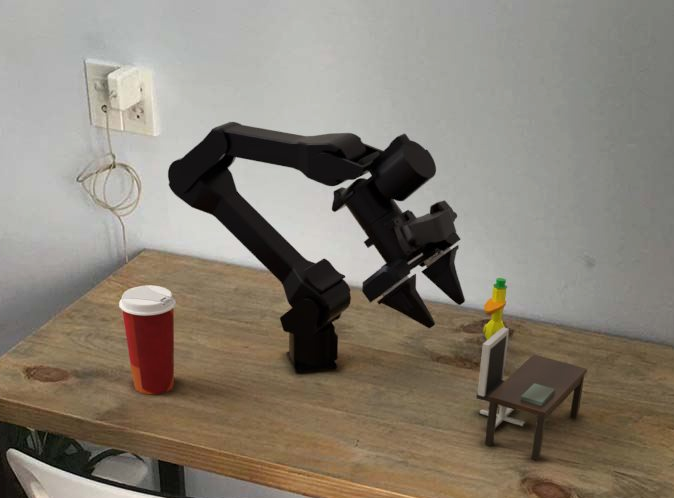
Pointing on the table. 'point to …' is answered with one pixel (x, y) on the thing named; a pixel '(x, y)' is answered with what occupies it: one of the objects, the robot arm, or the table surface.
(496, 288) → the toy figure
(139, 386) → the paper cup
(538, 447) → the desk
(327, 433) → the table surface
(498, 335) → the white black boxy frame
